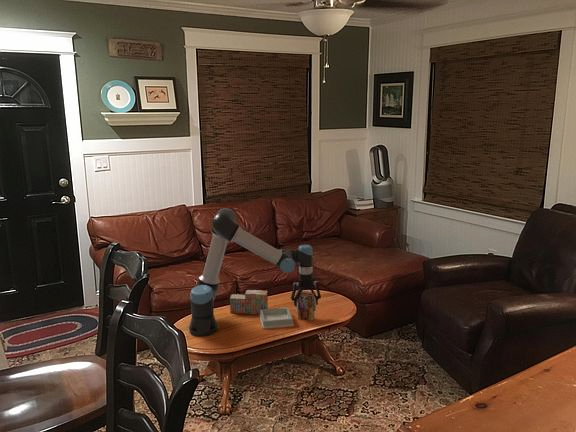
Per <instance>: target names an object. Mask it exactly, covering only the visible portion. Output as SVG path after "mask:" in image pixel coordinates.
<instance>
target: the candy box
mask: <svg viewBox="0 0 576 432" xmlns="http://www.w3.org/2000/svg"><path fill="white" fill-rule="evenodd" d="M314 298H315V297H314V293H312V292H311V291H304V290H303V291H302V292H301V294H300V296H299V297H298V299H297V300H298V312H297V320H303V321H304V320H305V321H313V320H314V319H315V311H314Z"/></svg>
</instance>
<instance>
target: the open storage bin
mask: <svg viewBox="0 0 576 432" xmlns="http://www.w3.org/2000/svg"><path fill="white" fill-rule="evenodd" d="M258 317H259V321H260V323H261V327H262V329H273V328H274V329H276V328H286V327H294V326H295V324H294V319H293V317H292V314H291V312H290V308H289V307H277V308H276V307H275V308H268V309H261V310H260V314H258Z"/></svg>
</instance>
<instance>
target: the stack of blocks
mask: <svg viewBox="0 0 576 432" xmlns="http://www.w3.org/2000/svg"><path fill="white" fill-rule="evenodd" d="M268 301H269V299H268V290H262V289H261V290H259V289H252V290H251V289H247V290H246V291H245V293H244V294H231V295H230V298H229V308H230V309H229V312H230V314H250V315H251V314H255V315H259V314H260V310H261V309H269V307H268V306H269V305H268Z"/></svg>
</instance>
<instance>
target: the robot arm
mask: <svg viewBox="0 0 576 432" xmlns="http://www.w3.org/2000/svg"><path fill="white" fill-rule="evenodd" d="M237 221H238V219H237V215H236V213H235V212H234V211H233V209H230V208H220V209H219V210H218V211H217V212H216V213H215V215H214V217H213V218H212V220H211V229H210V232H211V234H212V238H211V242H210V245H209V249H208V252H207V257H206V261H205V262H204V263H205V264H204V268H203V272H202V274H201V275H199V276H198V280H197V284H196V286H194V287H193V288H192V289H190V296H189V298H190V310H191V311H190V313H191V319H190V322H189V326H188V332H189V333H190V334H191V335H192V336H196V337H206V336H210V335H213V334H215V333H217V331H218V330H219V329H218V328H219V327H218V322H217V320H216V318H215V314H214V313H215V312H214V301H215V299H216V296H217V294H218V291H219V286H220V279H219V275H220V271H221V267H222V264H223V260H224V257H225V253H226V249H227V245H228V243H229V242H231V243H233V242H234V243H235V244H237V245H239V246H241V247H243V248H244V249H247V250H249V251H250V252H252V253H253V254H255V255H257V256H259V257H261V258H262V259H263V260H264V259H265V260H266V261H268V262H270V263H271V264H273V265H275V266H277V268H279V269H280V270H281V271H282V272H283V273H285V274H290V273H292V272H293V271H294V269H295V267H296V264H298V282H295V281H294V282H292V283H293V288H292V291H291V296H290V299H291V301H292V302H293V305H294V307H295V312H296V313H298V297H299V296H300V294H301V292H302V291H303V292H304V290H310V292H312V293H314V312H316V311H317V305H319V304H318V303H319V302H318V300H320V299H321V298H322V296H321V291H320V288H319V281H318V280H315V281H314V280H313V279H314V278H313V277H314V275H313V274H314V271H313V269H314V267H313V265H314V264H313V263H314V259H313V257H314V254H313V247H312V245H309V244H301V245H299V246H298V248H296V249H295V248H294V249H292V248H291V249H290V248H289V249H286V248H285V249H284V248H282V249H278V248H275V247H274V246H273V245H271V244H269V243H267V242H266V241H264V240H263V239H260V238H259V237H256V236H255V235H253V234H251V233H249V232H248V231H246V230H245V229H242V228H241V225H240V224H237ZM313 285H314V286H315V291H316V293H317V294H316V293H315V291H314V289H313V288H312V286H313ZM298 286H299V288H298V290H297V287H298Z"/></svg>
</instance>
